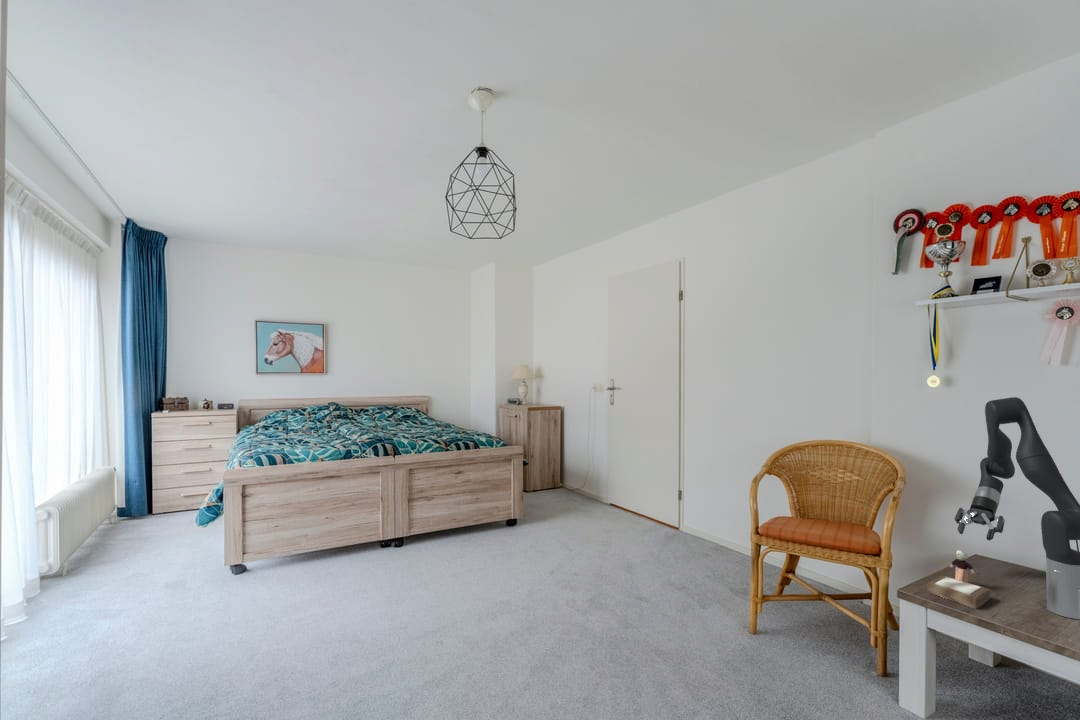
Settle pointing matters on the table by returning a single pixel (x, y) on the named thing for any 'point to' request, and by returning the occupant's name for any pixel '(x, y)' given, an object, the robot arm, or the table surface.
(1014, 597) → the table surface
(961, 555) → the grandmother figurine
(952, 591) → the stand
